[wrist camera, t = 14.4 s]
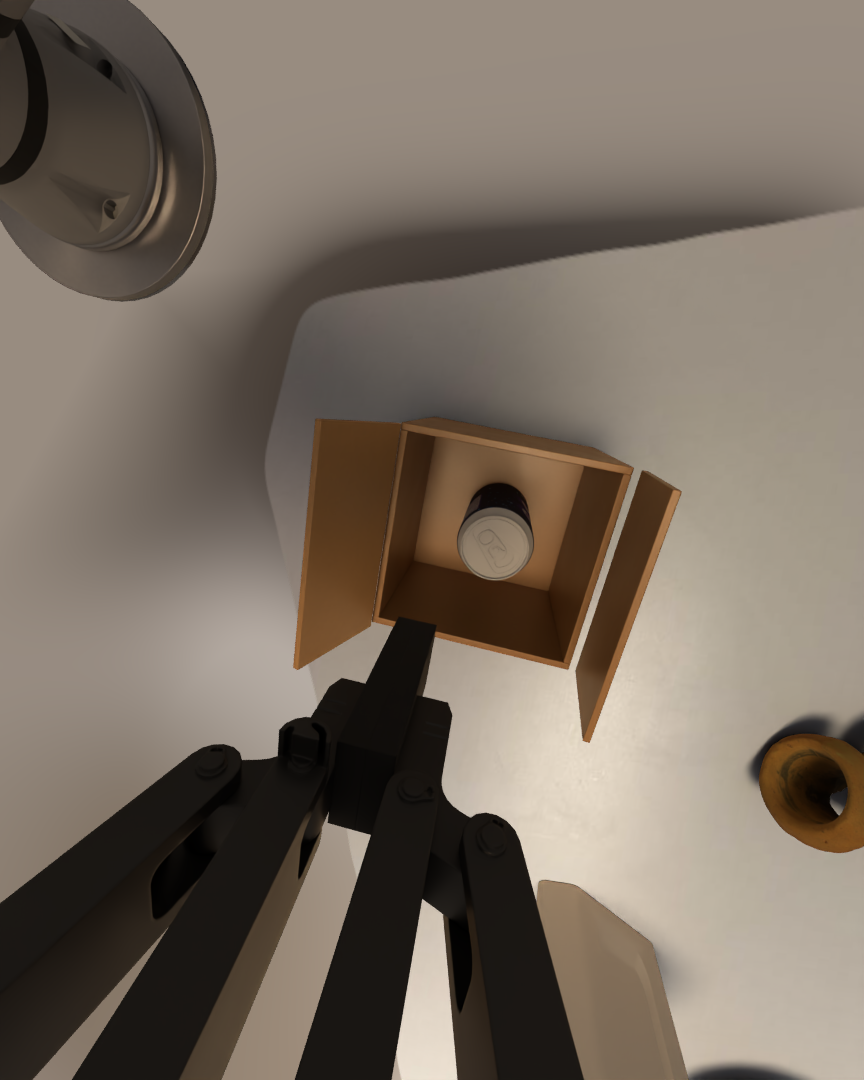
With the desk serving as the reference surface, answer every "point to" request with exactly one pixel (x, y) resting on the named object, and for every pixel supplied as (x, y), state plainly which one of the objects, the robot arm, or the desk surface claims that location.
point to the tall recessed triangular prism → (609, 989)
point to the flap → (343, 532)
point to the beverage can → (496, 533)
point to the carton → (555, 565)
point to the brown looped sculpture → (815, 790)
